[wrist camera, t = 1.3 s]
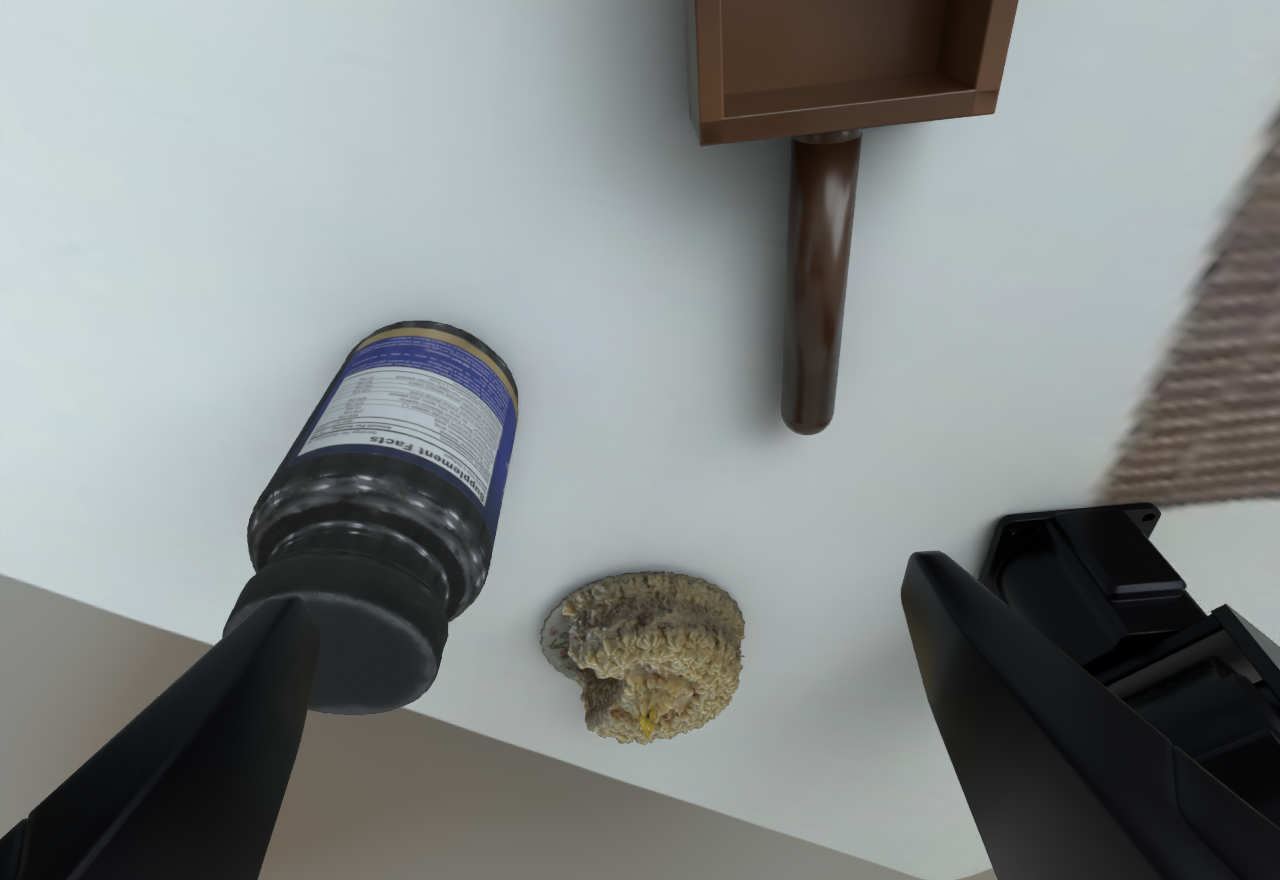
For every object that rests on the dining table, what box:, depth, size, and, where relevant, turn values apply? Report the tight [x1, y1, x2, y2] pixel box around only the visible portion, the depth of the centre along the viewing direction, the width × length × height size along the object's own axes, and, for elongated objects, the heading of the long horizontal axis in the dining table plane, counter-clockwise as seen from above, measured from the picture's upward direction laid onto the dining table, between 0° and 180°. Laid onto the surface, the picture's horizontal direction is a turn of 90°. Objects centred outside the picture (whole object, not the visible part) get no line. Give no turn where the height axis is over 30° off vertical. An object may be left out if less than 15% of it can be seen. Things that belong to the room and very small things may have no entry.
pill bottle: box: [222, 321, 518, 715], centre depth 19 cm, size 6×6×11 cm
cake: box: [540, 571, 745, 745], centre depth 31 cm, size 10×10×5 cm
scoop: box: [684, 0, 1018, 435], centre depth 18 cm, size 18×7×3 cm, turn 6°
